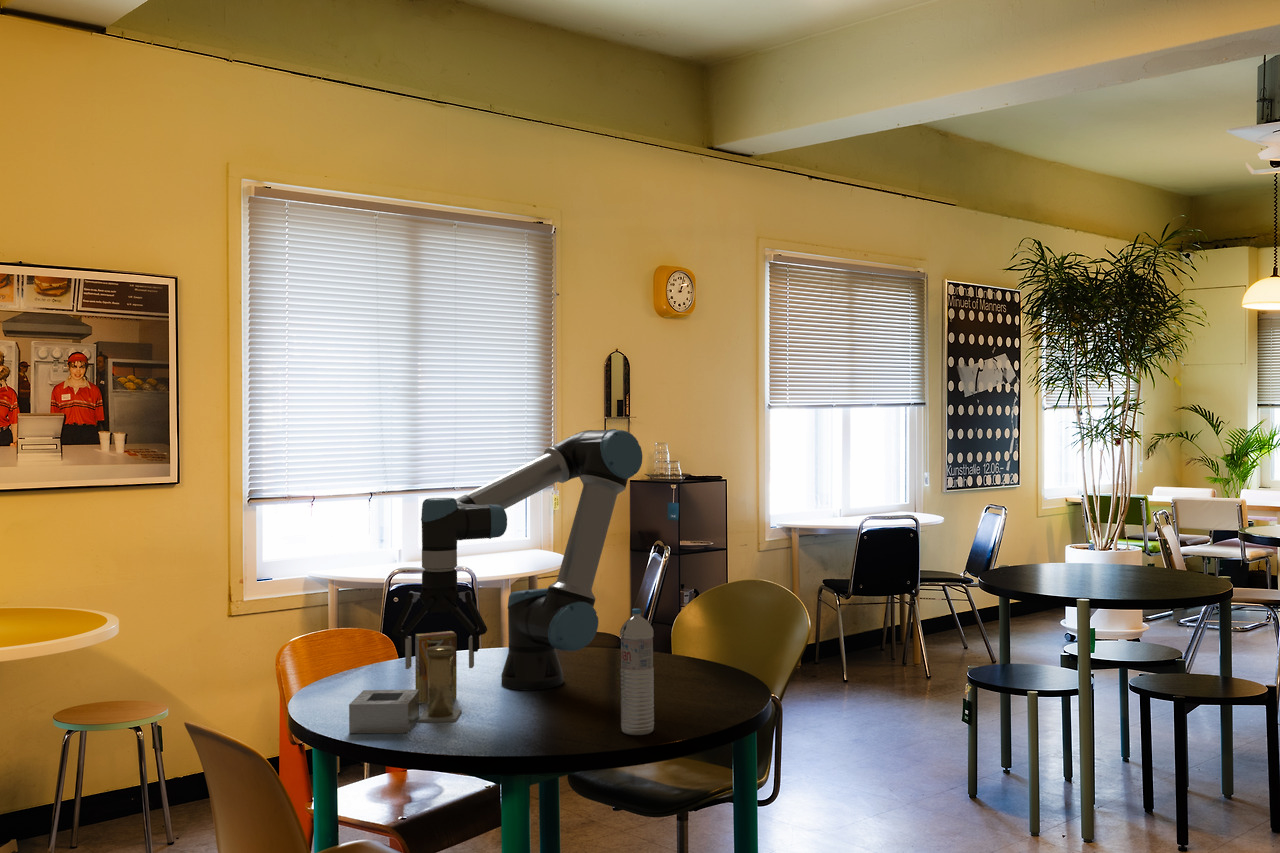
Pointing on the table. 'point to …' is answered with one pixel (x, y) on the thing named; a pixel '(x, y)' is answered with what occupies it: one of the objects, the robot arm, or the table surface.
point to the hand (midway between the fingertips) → (440, 667)
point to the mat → (452, 718)
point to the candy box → (422, 659)
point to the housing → (384, 711)
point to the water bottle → (637, 676)
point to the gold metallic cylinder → (440, 681)
